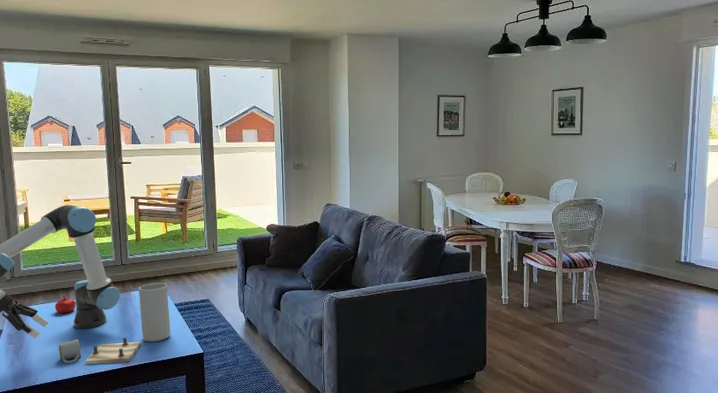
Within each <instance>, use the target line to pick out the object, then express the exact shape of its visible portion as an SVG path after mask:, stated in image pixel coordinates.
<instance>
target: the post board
mask: <svg viewBox="0 0 718 393" xmlns="http://www.w3.org/2000/svg"><path fill="white" fill-rule="evenodd" d="M122 341H123V342H119V343H118V342H117V343H101V344H99V346H93V352H92V353H91V354H90V355H89V356H88V357H87V359H86V360H85V365H92V364H94V365H95V364H110V363H111V364H112V363H125V362H131V360H132V358H133V357H134V355H135V354H136V353H137V351H138V350H139V349H140V348H141V346H142V342H141V341H134V342H133V341H132V342H127V337H123V338H122Z"/></svg>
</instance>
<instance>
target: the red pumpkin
mask: <svg viewBox="0 0 718 393" xmlns="http://www.w3.org/2000/svg"><path fill="white" fill-rule="evenodd" d="M62 297H63V298H62ZM62 297H61V298H58V299H59V300H58V301H56V303H55V305H54V308H55V311H56V313H58V314H65V313H66V314H68V313H71V312H73V311H74V310H75V308H76V300H74V299H73V298H71V297H70V296H68V297H66V295H64V294H63V295H62Z"/></svg>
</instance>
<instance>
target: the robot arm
mask: <svg viewBox="0 0 718 393" xmlns="http://www.w3.org/2000/svg"><path fill="white" fill-rule="evenodd" d="M96 223H97V217H96V215H95V212H94V211H93V210H92V209H90V208H88V207H85V206H82V205H70V204H67V205H62V206H58V207H57V208H54V209H53V210H51V211H50V212H48V213H46V214H44V215H43V216H40V220H39V221H37V222H35V223H34V224H32V225H31V226H29V227H27V228H26V229H24V230H22V231H21V232H19V233H17V234H15V235H14V236H12V237H10V238H9V239H7V240H6V241H4V242H2V243H1V244H0V279H2V278H3V277H4V276H5V275H6V274H7V273H8V272H9V271H10V270H11V269H12V268H13V267H14V266H15V261H14V259H13V257H14V256H16V255H18V254H20V253H21V252H23V251H24V250H26V249H27V248H28V249H29V247H31V246H33V245H34V244H36V243H38V242H39V241H40V240H42V239H44V238H46V237H47V236H48V235H50V234H56V233H57V232H60V231H62V230H66V232H67V235H68V237H69V238H70V239H72V240H73V241H74V244H75V247H76V249H77V253H78V256H79V259H80V262H81V265H82V268H83V271H84V274H85V277H86V279H83V280H79V281H76V283H74V285H73V286H74V296H75V297H74V299H75V302H76V305H75V308H76V309H75V310H76V312H75V316H74V320H73V326H74V328H77V329H91V328H95V327H99V326H101V325H103V324H105V323H106V322H107V315H106V314H105V312H104V310H105V311H107V310H111V309H113V308H114V307H116V305H117V304H118V303H119V300H120V299H121V293H120V290H119V288H117V287H116V286H114V285H113V281H112V279H111V278H110V277H107V274H106V271H105V270H106V269H105V268H104V264H103V262H102V258H101V255H100V252H99V251H100V250H99V249H98V245H97V242H96V239H95V237H94V233H95V231H96V229H95V226H96ZM13 301H14V297H13V296H11V295H10V294H8V293H6V292H5V291H4V290H2V289H1V288H0V313H2V314H1V316H3V317H4V318H5V319H6V320H7V321H8V323H10V324H11V326H13V328H14V329H15V330H17V331H18V332H21V331H23V332H25V333H26V334H28V335H29V336H30V337H32V338H33V339H36V338H37V337H38V336H39V335H41V332H39V331H38V330H37V329H35V328H34V327H32V326H30V325H29V324H28V323H25V322H24V320H23V319H22V317H21V316H22V315H23V316H26V317H29V318H31V320H33V321H34V322H36V323H37V324H39V325H40V326H42V327H43V328H46V326H48V324H49V323H50V322H49V321H48V320H47V319H45V318H44V317H42V316H41V315H40V314H38V310H37V309H35V308H33V307H30V306H28V305H26V304H24V303H21V302H19V301H18V300H15V301H14V302H13ZM20 315H21V316H20Z"/></svg>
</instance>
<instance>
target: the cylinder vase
mask: <svg viewBox="0 0 718 393" xmlns="http://www.w3.org/2000/svg"><path fill="white" fill-rule="evenodd" d="M168 293H169V292H168V284H167V283H164V282H155V283H148V284H143V285H141V286H139V287H138V294H139V305H140V307H139V308H140V318H141V320H140V322H141V334H142V340H143V341H145V342H152V343H153V342H159V341H164V340H165V339H168V338H169V337H170V336H171V324H170V322H171V321H170V310H169V309H170V308H169V297H168V295H169V294H168Z"/></svg>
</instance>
